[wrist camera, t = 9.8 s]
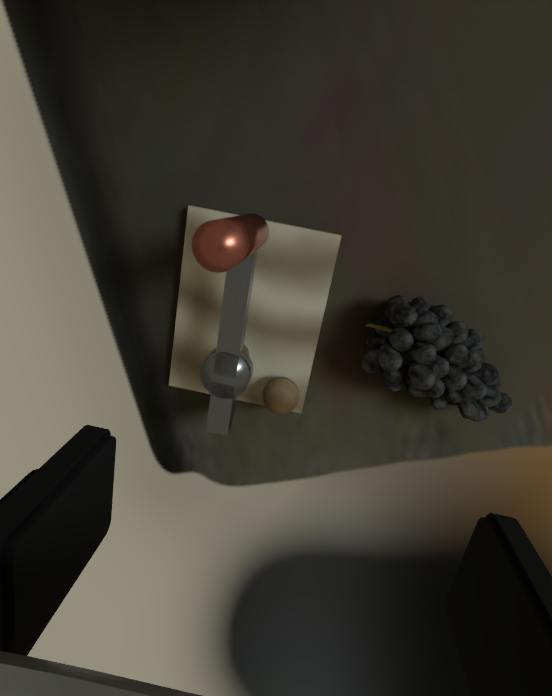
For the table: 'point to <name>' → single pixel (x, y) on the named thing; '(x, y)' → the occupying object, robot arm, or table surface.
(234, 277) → the lever
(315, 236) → the board
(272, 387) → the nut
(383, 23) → the table surface
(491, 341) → the table surface
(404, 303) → the fruit
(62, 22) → the table surface
